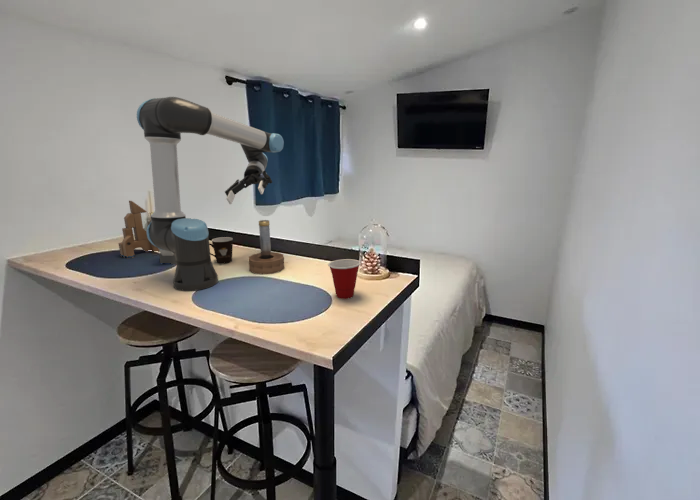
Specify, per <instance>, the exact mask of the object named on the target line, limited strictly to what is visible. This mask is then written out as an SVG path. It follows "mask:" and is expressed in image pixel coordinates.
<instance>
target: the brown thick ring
mask: <svg viewBox="0 0 700 500" xmlns="http://www.w3.org/2000/svg"><path fill="white" fill-rule="evenodd" d="M248 269H249V272H250V273H253V274H255V275H256V274H257V275H270V274H271V275H272V274H276V273H279V272H281V271H283V270H284V269H285V256H284V254H283V253H280V252H274V251H271V258H270V259H261V252H258V253H253V254H251V255H250V256H248Z"/></svg>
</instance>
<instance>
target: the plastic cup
mask: <svg viewBox="0 0 700 500" xmlns="http://www.w3.org/2000/svg"><path fill="white" fill-rule="evenodd" d="M327 265H328V267H329V269H330V273H331V275H332V276H331V277H332V281H333V287H334V291H335V296H336V297H337V298H339V299H341V300H348V298H349V299H352V298H353V297H354V294H355V289H356V286H357V285H356V283H357V279H358V274H359V273H358V271H359V267H360V265H361V261H360V260H359V259H358V260H357V259H354V258H353V259H351V258H346V259H344V258H343V259H342V258H341V259H336V260H332V261H330V262H328V264H327ZM351 297H352V298H351Z"/></svg>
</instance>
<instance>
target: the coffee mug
mask: <svg viewBox="0 0 700 500" xmlns="http://www.w3.org/2000/svg"><path fill="white" fill-rule="evenodd" d="M211 242H212V243H210V242H209V246H211V247H212V249H213V252H214V254H213V253H211V252H210V256H213V257H214V258H215V262H216V263H217V264H220V265H224V264H229V263H232V262H233V244H234V239H233V237H229V236H226V237H225V236H224V237H223V236H221V237H216V238H212V239H211Z"/></svg>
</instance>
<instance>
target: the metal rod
mask: <svg viewBox="0 0 700 500" xmlns="http://www.w3.org/2000/svg"><path fill="white" fill-rule="evenodd" d="M258 229H259V242H260V243H259V244H260V253H261V259H270V258H271V252H272V250H271V249H272V248H271V246H272V245H271V231H270V229H271V228H270V220H268V219H260V220H259V221H258Z"/></svg>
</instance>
